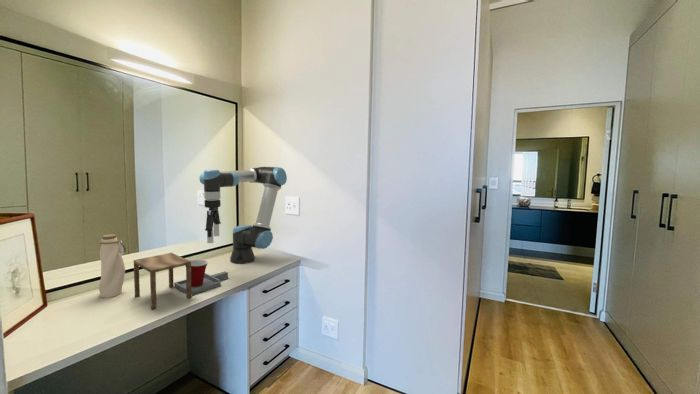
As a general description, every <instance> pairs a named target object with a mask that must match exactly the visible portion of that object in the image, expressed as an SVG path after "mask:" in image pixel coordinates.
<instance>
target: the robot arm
mask: <svg viewBox="0 0 700 394" xmlns="http://www.w3.org/2000/svg"><path fill="white" fill-rule="evenodd" d="M287 179H288V176H287V172H286V171H285V169H284V168H282V167H278V166H259V167H250V168H248V169H246V170H245V169H243V170H225V171H221V170H219V169H204V170H203V172H201V174H200V175H199V182H200V183H201V184H202V185H203V193H202V195H203V196H204V208H208V210H207V211H206V223H205V229H204V230H205V231H206V238H207V240H206V241H207V242H206V243H207V244H214V242H215V241H214V237H219V236H220V225H221V223H222V222H221V221H220V220H221V219H220V214H219V207H221V188H228V187H229V188H230V187H236V186H237V185H238V184H239V183H247V182H248V183H250V184H253V183H255V184H256V183H257V184H262V185H263V187H264V189H263V192H262V197H261V200H260V201H261V202H260V205H259V208H258V212H257V213H258V214H257V217H256V220H255V223H254V224H243V225H237V226H235V227H233V228H232V229H233V230H232V252H231V254H230V257H229V261H230V263H231V264H237V265H242V264H243V265H245V264H249V263H252V262H254V261H255V260H256V259H255V253H254V250H253V249H254V248H255V249H259V250H263V249H267V248H268V247H270V246H271V244H272V242H273V238H274V236H273V232H272V231H271V230H272V228H271V227H270V226H271V225H270V224H271V221H272V217H273V212H274V208H275V204H276V200H277V196H278V191H279V190H282V186H284V185H285V184H286V183H287Z"/></svg>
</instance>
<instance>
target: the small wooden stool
mask: <svg viewBox="0 0 700 394" xmlns="http://www.w3.org/2000/svg"><path fill="white" fill-rule="evenodd" d="M185 265H186V266H185ZM184 266H185V273H186V274H185V278H186V279H185V280H186V292H187V294H186V299H191V298H192V295H191V261H190V260H188V259H187V258H184V257H182V256H180V255H177V254H175V253H174V252H168V253H163V254H159V255H153V256H149V257H143V258H138V259H133V279H134V281H133V282H134V284H133V285H134V297H135V298H139V297H141V293H140V292H141V291H140V287H141V285H140V267H141V268H142V269H144V270H145V271H147V272H149V279H150V280H149V281H150V282H149V283H150V288H149V289H150V310H151V311H154V310H157V307H158V306H157V277H156V275H157V274H156V273H158V272H163V271H166V270H168V287H169V288H170V289H171V288H175V287H174V269H175V268H179V267H184Z"/></svg>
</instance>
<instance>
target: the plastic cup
mask: <svg viewBox="0 0 700 394" xmlns="http://www.w3.org/2000/svg"><path fill="white" fill-rule="evenodd" d="M189 261H191V287H198V286H201V285H202V284H203V280H204V275H205V273H206V270H207V266H208V264H209V261H208V260H204V259H193V260H191V259H190V260H189ZM184 266H185V267H186V265H184Z"/></svg>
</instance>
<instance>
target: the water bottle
mask: <svg viewBox="0 0 700 394" xmlns="http://www.w3.org/2000/svg"><path fill="white" fill-rule="evenodd" d="M98 244H99V245H101V246H100V249H99V259H100V266H101V267H100V281H99V283H98V291H99V295H100V297H101V298H112V297H116V296H119V295H121V294H122V292H123V285H124V282H125V277H126V276H125V274H126V267H125V262H124V259H123V257H122V256H123V255H124V253H126V252H127V251H126V250H127V248H126V246H125V244H123V241H122V239H120V240H119V239H118V238H117V235H116V234H113V233H112V234H104V235H102V236H101V239H100V240H99V242H98Z"/></svg>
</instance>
